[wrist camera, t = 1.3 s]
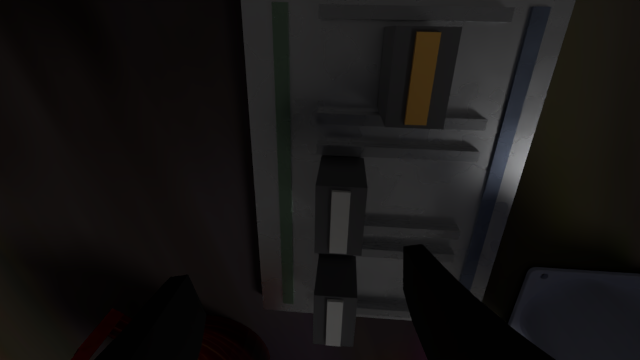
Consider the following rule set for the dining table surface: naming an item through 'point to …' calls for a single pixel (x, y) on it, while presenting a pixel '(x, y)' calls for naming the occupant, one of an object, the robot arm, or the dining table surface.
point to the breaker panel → (391, 136)
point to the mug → (217, 345)
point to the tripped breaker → (417, 75)
